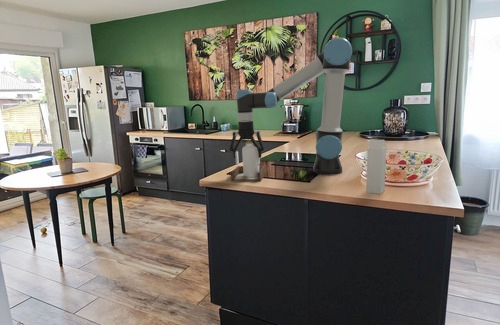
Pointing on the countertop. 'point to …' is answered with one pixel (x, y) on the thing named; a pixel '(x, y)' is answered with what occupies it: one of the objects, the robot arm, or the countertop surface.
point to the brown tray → (239, 176)
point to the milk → (376, 166)
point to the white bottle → (250, 160)
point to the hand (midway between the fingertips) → (247, 164)
